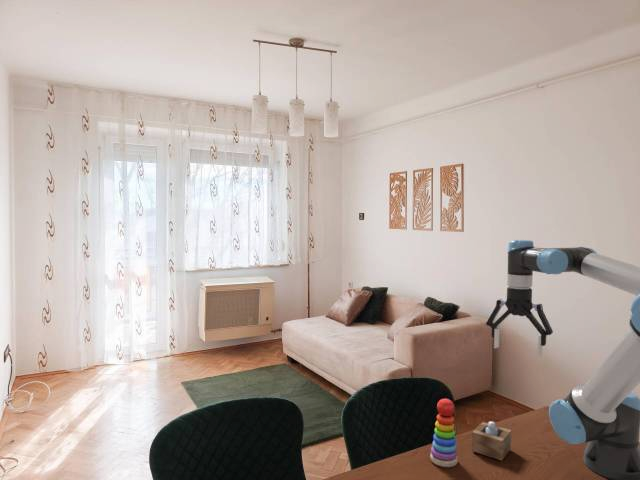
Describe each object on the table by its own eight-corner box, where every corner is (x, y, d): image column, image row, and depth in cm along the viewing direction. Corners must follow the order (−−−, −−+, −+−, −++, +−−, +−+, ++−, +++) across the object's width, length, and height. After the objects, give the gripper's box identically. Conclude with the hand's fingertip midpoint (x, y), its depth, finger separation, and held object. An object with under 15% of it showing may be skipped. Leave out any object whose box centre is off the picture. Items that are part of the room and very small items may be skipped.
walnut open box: (510, 448, 144) (511, 430, 144) (501, 460, 137) (502, 441, 137) (482, 439, 150) (482, 421, 150) (471, 450, 143) (472, 431, 143)
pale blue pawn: (506, 450, 144) (507, 422, 144) (499, 459, 139) (499, 430, 138) (483, 443, 149) (484, 415, 148) (475, 451, 143) (476, 423, 143)
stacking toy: (459, 470, 133) (460, 406, 132) (430, 466, 135) (431, 404, 134) (456, 456, 141) (457, 395, 140) (429, 453, 142) (430, 393, 141)
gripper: (564, 289, 146) (562, 355, 147) (485, 282, 161) (483, 342, 163) (559, 292, 140) (556, 361, 141) (477, 284, 156) (475, 346, 157)
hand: (517, 351), depth 152 cm, fingers open, 13 cm apart
